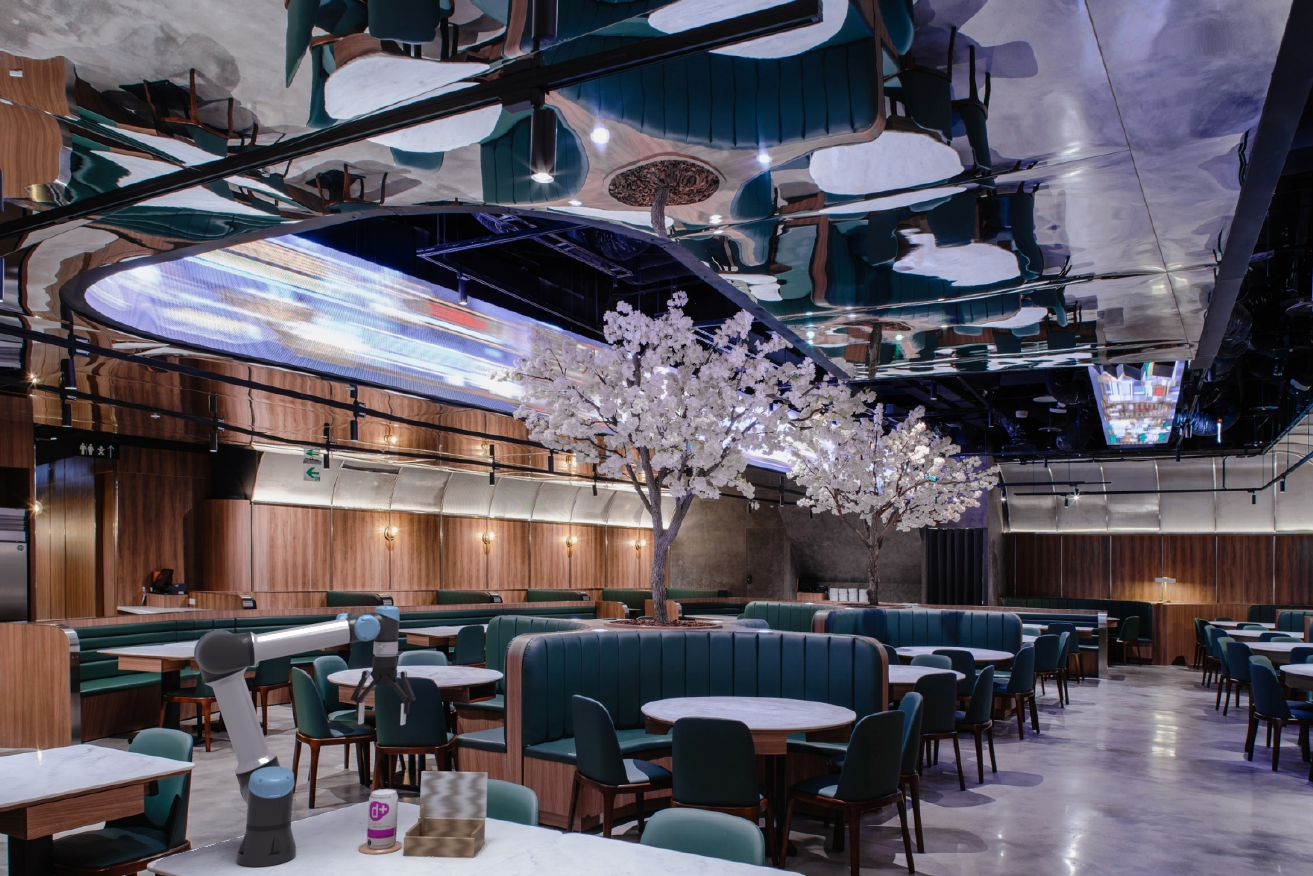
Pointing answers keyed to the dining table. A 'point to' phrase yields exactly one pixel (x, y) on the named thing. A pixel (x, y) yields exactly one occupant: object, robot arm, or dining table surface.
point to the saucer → (367, 850)
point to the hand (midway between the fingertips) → (381, 724)
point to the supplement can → (382, 819)
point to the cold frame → (449, 815)
